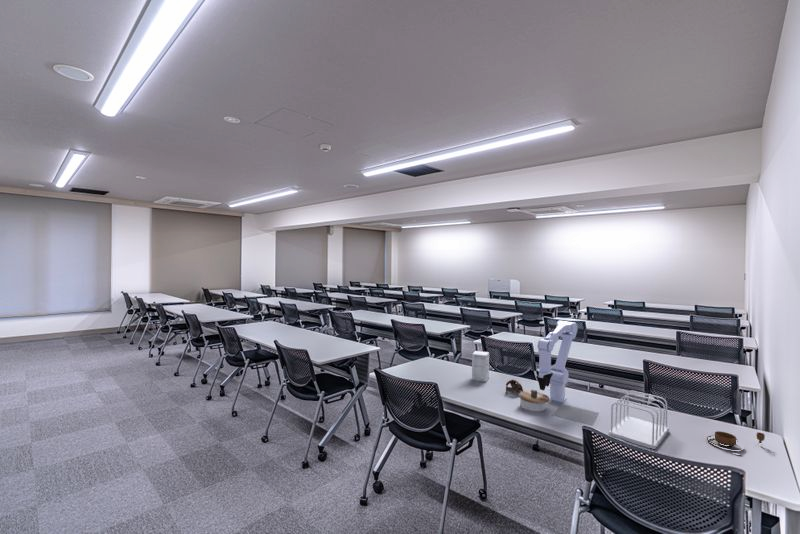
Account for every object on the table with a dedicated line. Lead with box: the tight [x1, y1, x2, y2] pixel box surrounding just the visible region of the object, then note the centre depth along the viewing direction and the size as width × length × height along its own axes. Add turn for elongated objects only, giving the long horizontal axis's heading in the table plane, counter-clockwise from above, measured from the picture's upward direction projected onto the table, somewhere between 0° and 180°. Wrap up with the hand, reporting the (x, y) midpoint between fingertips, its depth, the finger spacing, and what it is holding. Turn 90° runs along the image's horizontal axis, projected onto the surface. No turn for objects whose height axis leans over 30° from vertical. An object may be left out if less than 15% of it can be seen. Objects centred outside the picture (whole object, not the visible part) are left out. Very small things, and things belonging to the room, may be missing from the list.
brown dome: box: [505, 379, 524, 393], centre depth 215 cm, size 12×10×8 cm
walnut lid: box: [518, 389, 550, 404], centre depth 193 cm, size 15×15×4 cm
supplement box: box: [471, 350, 490, 382], centre depth 238 cm, size 10×9×17 cm
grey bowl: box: [519, 398, 547, 412], centre depth 194 cm, size 12×12×5 cm
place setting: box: [706, 430, 766, 447], centre depth 155 cm, size 18×20×6 cm
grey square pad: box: [552, 403, 600, 426], centre depth 185 cm, size 18×18×1 cm
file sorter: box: [608, 390, 670, 450], centre depth 166 cm, size 25×17×16 cm
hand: (544, 387), depth 196 cm, fingers open, 7 cm apart
